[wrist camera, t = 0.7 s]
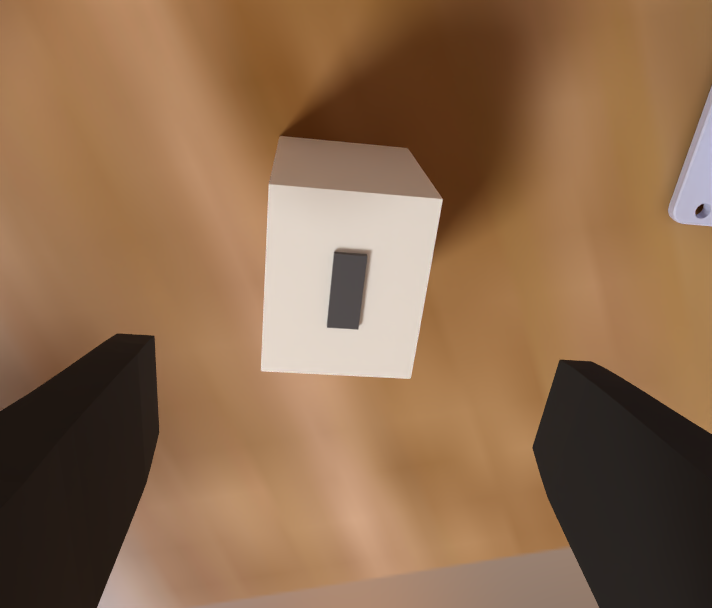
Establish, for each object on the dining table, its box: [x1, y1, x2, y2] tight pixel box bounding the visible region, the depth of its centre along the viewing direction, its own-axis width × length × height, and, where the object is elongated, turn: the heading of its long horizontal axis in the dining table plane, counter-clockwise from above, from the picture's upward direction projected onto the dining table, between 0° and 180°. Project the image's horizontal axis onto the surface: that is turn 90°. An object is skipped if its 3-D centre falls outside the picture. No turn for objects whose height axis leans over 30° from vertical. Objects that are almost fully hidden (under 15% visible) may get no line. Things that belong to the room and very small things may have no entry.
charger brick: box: [261, 136, 443, 379], centre depth 17 cm, size 4×5×6 cm
